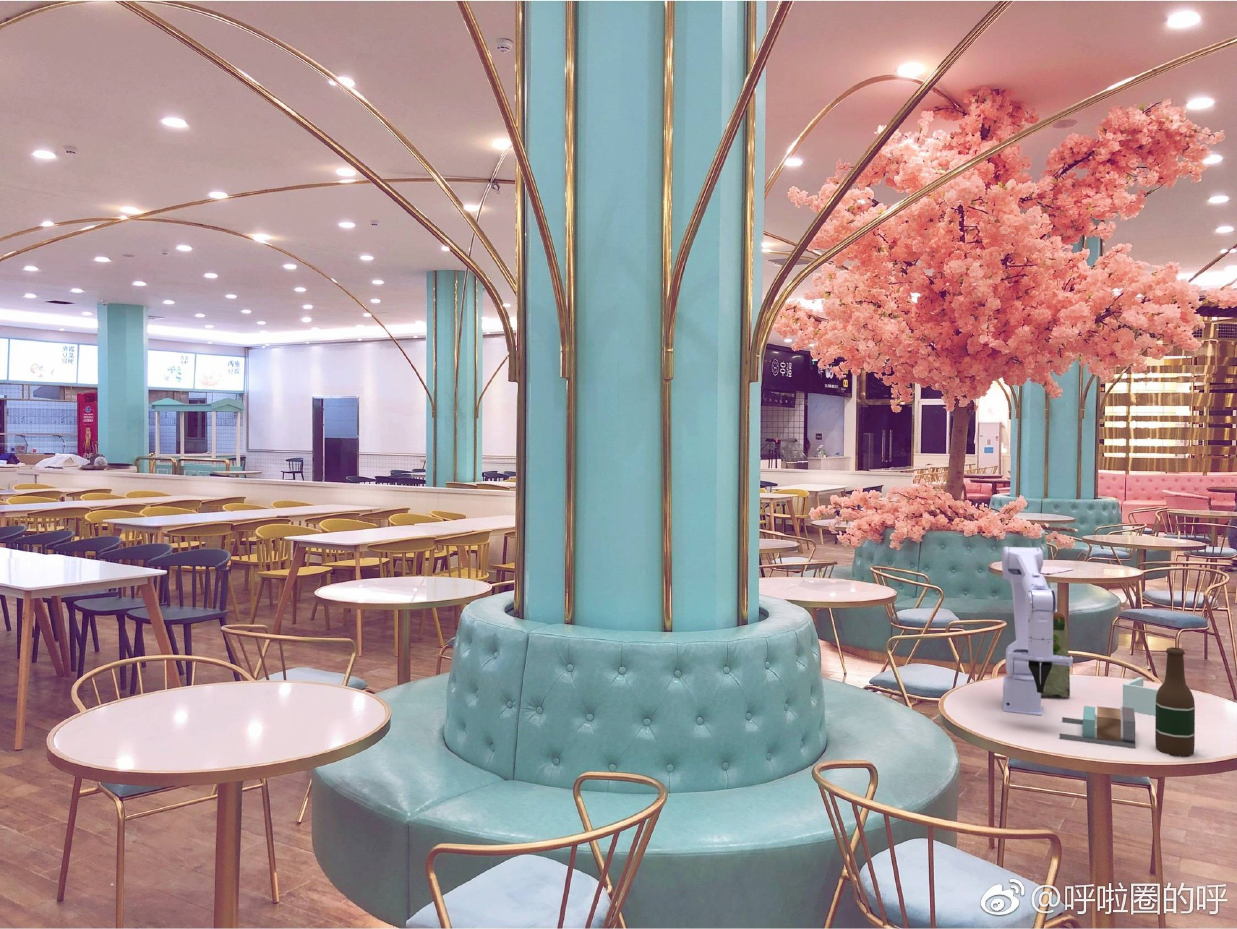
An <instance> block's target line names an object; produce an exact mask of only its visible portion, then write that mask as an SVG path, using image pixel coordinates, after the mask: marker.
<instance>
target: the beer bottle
mask: <svg viewBox="0 0 1237 929" xmlns="http://www.w3.org/2000/svg"><path fill="white" fill-rule="evenodd" d="M1165 653H1166V665H1165V666H1166V668H1165V677H1164V682H1163V683H1162V684H1161V685H1160V687H1159V688H1158V692H1157V694H1156V716H1154V717H1155V726H1154V727H1155V737H1154V738H1155V739H1154V740H1155V749H1156V750H1158V751H1159V752H1161V753H1162V754H1166V755H1167V754H1168V755H1169V756H1172V757H1181V758H1182V757H1185V758H1187V757H1191V756H1193V755H1194V754H1195V744H1196V743H1195V740H1196V738H1195V733H1196V732H1195V731H1196V730H1195V729H1196V728H1195V723H1196V720H1195V719H1196V718H1195V717H1196V711H1195V710H1196V706H1195V698H1194V695H1193V693H1192V691H1191V690H1190V687H1189V686H1188V684H1187V682H1186V676H1185V661H1184V660H1185V659H1184V655H1186V653H1185V650H1184V649H1183V648H1180V647H1173V646H1172V647H1171V646H1170V647H1168V648H1166V650H1165Z"/></svg>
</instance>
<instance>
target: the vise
mask: <svg viewBox="0 0 1237 929" xmlns="http://www.w3.org/2000/svg"><path fill="white" fill-rule="evenodd" d="M1119 709H1120V715H1121V741H1115V740H1107V739H1099V738H1092V737H1084V736H1083V735H1075V734H1066V733H1059V739H1060V740H1066V741H1072V742H1081V743H1088V744H1097V745H1103V746H1111V747H1112V746H1113V747H1119V748H1120V747H1121V748H1126V749H1127V748H1128V749H1133V750H1135V749H1136V716H1135V715H1136V714H1135V712H1134V708H1127V707H1123V706H1122V707H1121V708H1119ZM1061 722H1062V723H1064V724H1065V723H1066V724H1075V725H1082V726H1083V718H1082V719H1081V718H1073V717H1072V718H1071V717H1064V716H1062V717H1061Z"/></svg>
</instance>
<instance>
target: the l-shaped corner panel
mask: <svg viewBox="0 0 1237 929" xmlns="http://www.w3.org/2000/svg"><path fill="white" fill-rule="evenodd" d="M1158 690H1159V688H1158V689H1156V688H1151V687H1146V686H1144V677H1141V676H1138V677H1136V678H1134V679H1132V680H1129V681H1127V682H1125V683H1122V707H1127V708H1134V713H1136V712H1137V714H1142V715H1146V714H1147V716H1151V715H1153V716H1152V717H1156V694H1157V692H1158Z"/></svg>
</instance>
